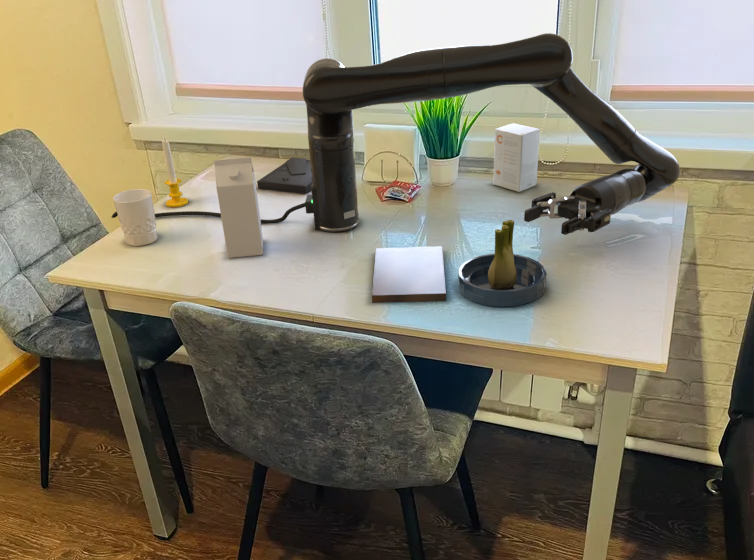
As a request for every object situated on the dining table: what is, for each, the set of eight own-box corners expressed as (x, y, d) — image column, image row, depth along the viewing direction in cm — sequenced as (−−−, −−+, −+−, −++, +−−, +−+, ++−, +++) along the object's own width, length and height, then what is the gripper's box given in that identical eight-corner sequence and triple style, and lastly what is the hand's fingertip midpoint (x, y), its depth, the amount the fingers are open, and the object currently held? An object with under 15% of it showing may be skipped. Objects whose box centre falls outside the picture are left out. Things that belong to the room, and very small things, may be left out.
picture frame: (292, 165, 204) (257, 188, 191) (291, 157, 203) (256, 179, 190) (338, 169, 199) (306, 193, 186) (337, 161, 198) (305, 184, 185)
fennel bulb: (496, 295, 137) (499, 231, 130) (479, 285, 141) (481, 222, 134) (523, 287, 139) (527, 223, 132) (506, 277, 143) (509, 214, 136)
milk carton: (229, 244, 164) (215, 154, 153) (263, 241, 164) (251, 151, 153) (227, 258, 158) (212, 166, 147) (263, 255, 158) (250, 162, 147)
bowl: (460, 309, 134) (461, 292, 133) (456, 270, 147) (456, 254, 145) (550, 306, 133) (552, 290, 131) (538, 268, 146) (539, 252, 144)
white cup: (167, 235, 170) (158, 190, 165) (145, 249, 164) (135, 204, 159) (138, 230, 173) (128, 187, 168) (116, 245, 167) (104, 200, 162)
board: (372, 302, 138) (371, 295, 137) (376, 255, 155) (375, 248, 154) (446, 301, 137) (446, 293, 136) (442, 253, 154) (442, 246, 153)
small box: (537, 185, 181) (541, 128, 174) (518, 192, 178) (522, 135, 171) (510, 177, 187) (513, 122, 179) (492, 184, 183) (494, 128, 176)
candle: (192, 201, 187) (180, 135, 178) (177, 208, 183) (164, 142, 174) (176, 198, 189) (164, 133, 180) (161, 205, 186) (148, 139, 177)
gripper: (571, 170, 151) (514, 193, 143) (635, 188, 141) (578, 213, 133) (568, 207, 155) (512, 231, 147) (630, 227, 145) (574, 253, 137)
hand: (544, 222), depth 140 cm, fingers open, 8 cm apart
